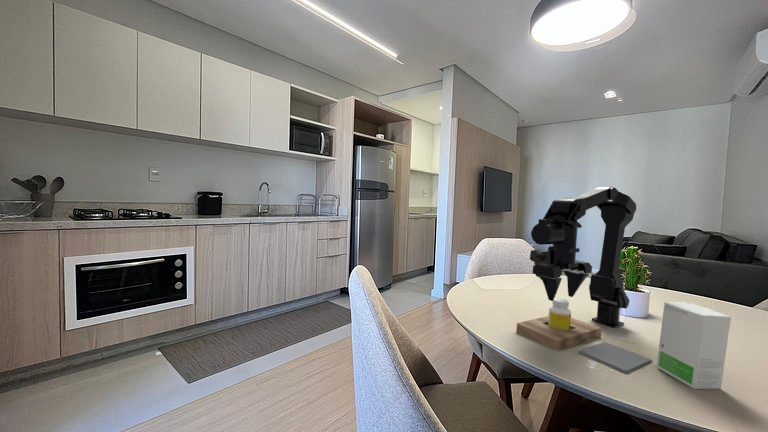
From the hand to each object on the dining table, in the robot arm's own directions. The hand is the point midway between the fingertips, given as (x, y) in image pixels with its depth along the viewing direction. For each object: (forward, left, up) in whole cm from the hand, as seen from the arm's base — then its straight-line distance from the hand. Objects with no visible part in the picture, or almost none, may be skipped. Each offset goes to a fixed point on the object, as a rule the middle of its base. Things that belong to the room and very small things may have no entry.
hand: (560, 298), depth 85 cm
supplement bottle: (0, 0, -11) cm, 11 cm away
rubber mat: (0, +14, -10) cm, 17 cm away
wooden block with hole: (0, 0, -10) cm, 10 cm away
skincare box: (-5, +26, -11) cm, 28 cm away
